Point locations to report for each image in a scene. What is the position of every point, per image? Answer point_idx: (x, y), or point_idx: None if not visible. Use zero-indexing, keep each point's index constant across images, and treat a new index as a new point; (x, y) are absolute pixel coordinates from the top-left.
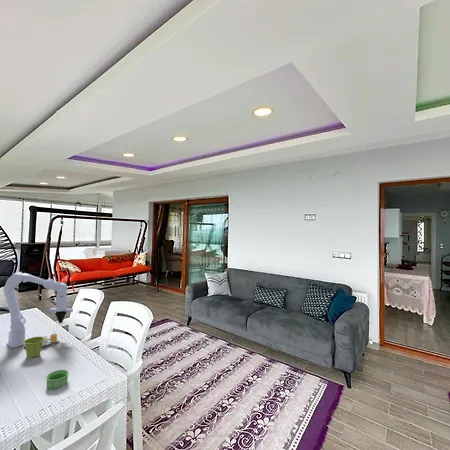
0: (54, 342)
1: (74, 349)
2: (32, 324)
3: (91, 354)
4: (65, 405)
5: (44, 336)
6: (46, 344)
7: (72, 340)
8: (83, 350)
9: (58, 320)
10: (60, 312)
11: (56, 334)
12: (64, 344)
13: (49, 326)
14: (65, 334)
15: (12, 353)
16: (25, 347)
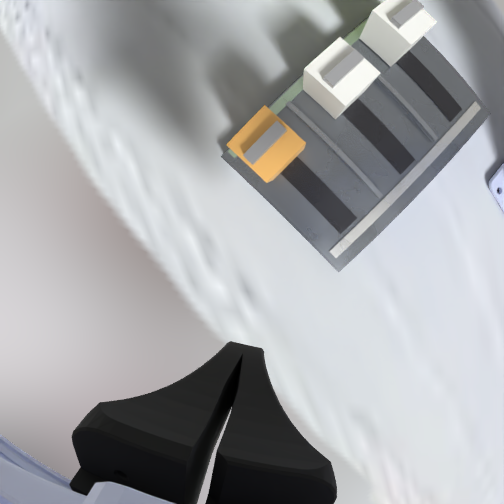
0: None
1: (75, 46)
2: (486, 477)
3: (6, 20)
4: None
5: (347, 72)
6: None
7: (132, 202)
8: (33, 46)
9: (259, 368)
10: (174, 498)
11: (234, 148)
12: (164, 120)
13: (410, 473)
14: None
15: (486, 30)
16: (462, 83)
